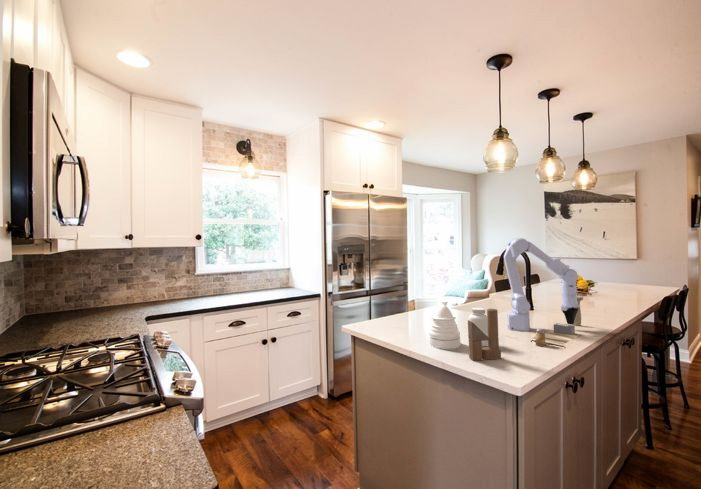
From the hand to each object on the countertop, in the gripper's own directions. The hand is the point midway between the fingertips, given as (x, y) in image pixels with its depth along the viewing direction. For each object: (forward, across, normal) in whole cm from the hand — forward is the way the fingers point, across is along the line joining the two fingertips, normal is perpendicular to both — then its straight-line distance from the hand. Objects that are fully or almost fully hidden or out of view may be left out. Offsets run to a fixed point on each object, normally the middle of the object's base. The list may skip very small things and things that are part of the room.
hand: (570, 324), depth 153 cm
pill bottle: (+4, -45, +19) cm, 49 cm away
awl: (+4, -29, +1) cm, 29 cm away
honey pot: (+4, -55, +29) cm, 63 cm away
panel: (+4, -16, 0) cm, 16 cm away
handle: (+4, +11, +1) cm, 12 cm away
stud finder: (+3, -8, 0) cm, 8 cm away
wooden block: (+4, -60, +8) cm, 60 cm away
